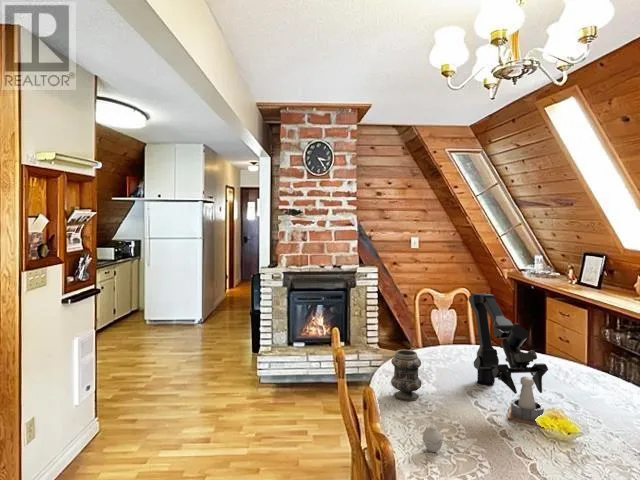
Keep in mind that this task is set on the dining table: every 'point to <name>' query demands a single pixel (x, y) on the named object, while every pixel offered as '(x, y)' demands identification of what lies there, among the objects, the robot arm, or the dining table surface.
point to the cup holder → (524, 413)
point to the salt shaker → (526, 394)
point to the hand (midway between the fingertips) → (528, 392)
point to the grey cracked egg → (432, 439)
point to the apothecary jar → (406, 375)
